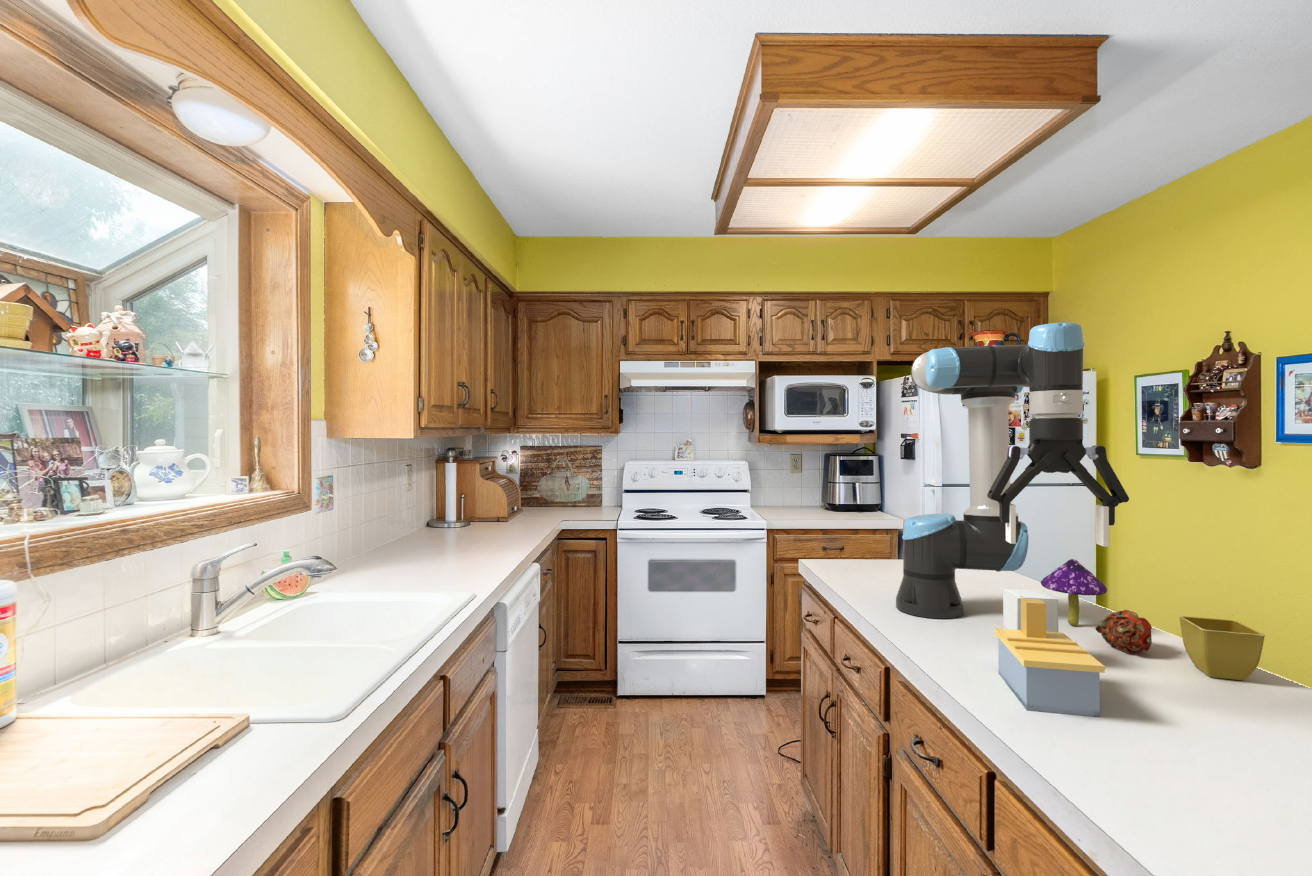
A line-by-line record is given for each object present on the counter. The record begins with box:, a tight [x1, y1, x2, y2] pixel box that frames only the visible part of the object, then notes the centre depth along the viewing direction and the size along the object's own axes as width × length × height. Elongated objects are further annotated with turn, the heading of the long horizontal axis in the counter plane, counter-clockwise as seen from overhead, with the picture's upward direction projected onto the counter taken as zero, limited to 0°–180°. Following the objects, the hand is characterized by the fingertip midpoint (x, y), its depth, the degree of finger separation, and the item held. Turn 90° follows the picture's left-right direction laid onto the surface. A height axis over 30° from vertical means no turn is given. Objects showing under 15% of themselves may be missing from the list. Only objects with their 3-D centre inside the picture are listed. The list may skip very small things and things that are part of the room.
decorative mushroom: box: [1040, 558, 1108, 627], centre depth 137 cm, size 12×12×15 cm
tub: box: [997, 637, 1101, 718], centre depth 102 cm, size 15×10×7 cm, turn 165°
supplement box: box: [1002, 588, 1059, 632], centre depth 118 cm, size 7×7×13 cm
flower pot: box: [1179, 615, 1266, 681], centre depth 109 cm, size 9×9×9 cm
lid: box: [994, 598, 1106, 674], centre depth 102 cm, size 16×11×8 cm
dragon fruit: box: [1095, 609, 1153, 654], centre depth 122 cm, size 8×8×12 cm
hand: (1055, 543), depth 102 cm, fingers open, 13 cm apart
